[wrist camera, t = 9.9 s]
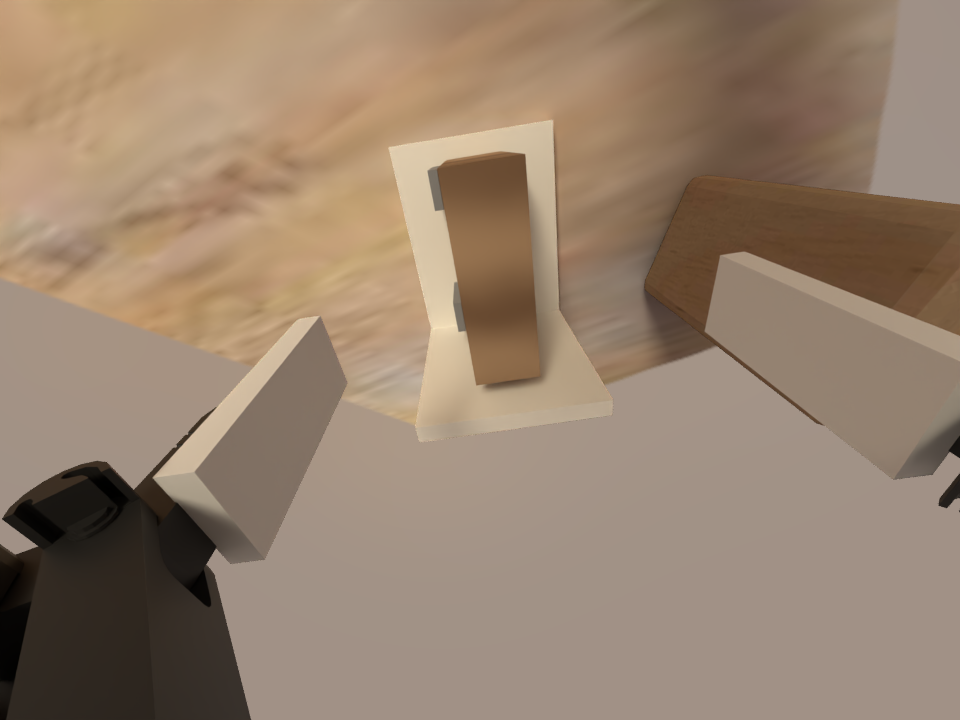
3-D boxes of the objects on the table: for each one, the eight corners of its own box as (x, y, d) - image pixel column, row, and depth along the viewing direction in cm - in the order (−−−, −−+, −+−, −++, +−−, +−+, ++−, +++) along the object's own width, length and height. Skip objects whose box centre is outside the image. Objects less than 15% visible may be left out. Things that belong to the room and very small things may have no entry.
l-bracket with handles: (391, 147, 27) (328, 147, 14) (549, 120, 27) (630, 96, 14) (434, 334, 35) (419, 442, 23) (556, 316, 35) (612, 415, 22)
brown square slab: (446, 160, 27) (437, 168, 16) (500, 151, 26) (525, 153, 16) (471, 310, 33) (476, 385, 22) (515, 303, 33) (540, 376, 22)
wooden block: (636, 288, 34) (816, 434, 17) (687, 171, 29) (1015, 207, 12) (730, 307, 35) (985, 459, 18) (794, 198, 30) (1225, 264, 13)
